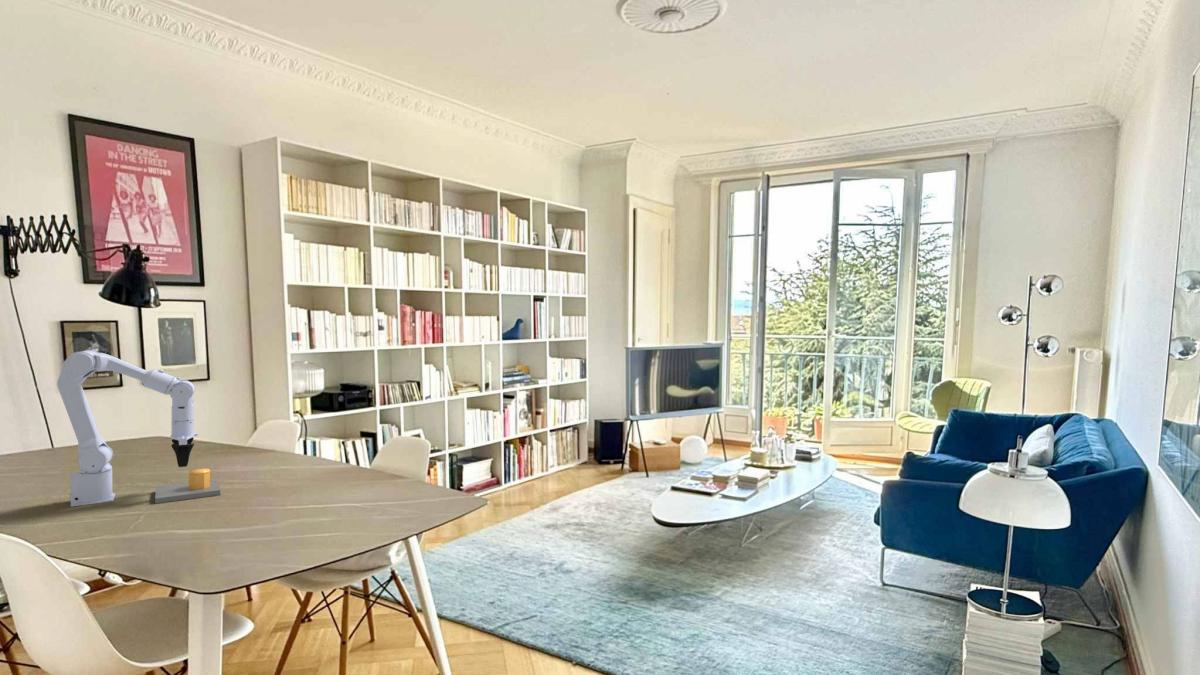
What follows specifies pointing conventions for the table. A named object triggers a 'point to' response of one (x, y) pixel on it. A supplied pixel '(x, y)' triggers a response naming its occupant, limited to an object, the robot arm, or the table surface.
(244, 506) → the table surface
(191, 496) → the plate
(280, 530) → the table surface
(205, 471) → the orange acorn nut
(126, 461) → the table surface
